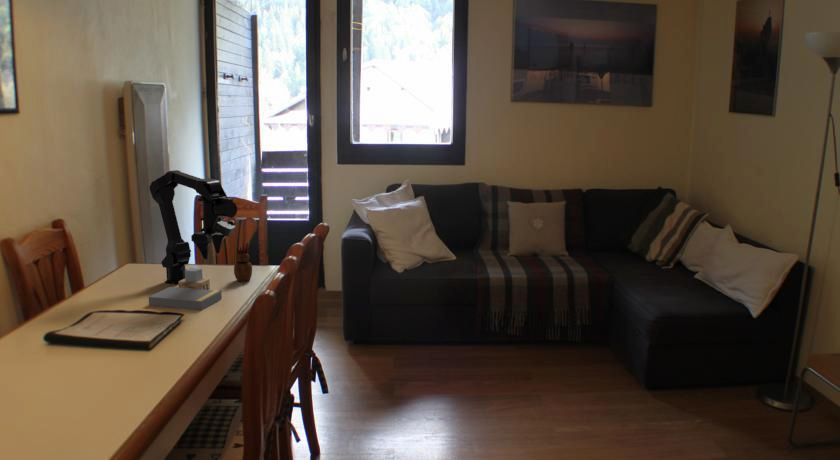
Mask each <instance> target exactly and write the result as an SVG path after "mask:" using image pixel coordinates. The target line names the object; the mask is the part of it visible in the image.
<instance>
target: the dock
mask: <svg viewBox="0 0 840 460" xmlns="http://www.w3.org/2000/svg"><path fill="white" fill-rule="evenodd" d="M221 300H222V290H220V289H214V290H213V289H209V290H203V289H191V288H179V286H169V287H166V288H164V289H163V290H160V291H159V292H155V293H154V294H152V295H150V296H148V305H149V306H151V307H152V306H153V307H162V308H163V307H164V308H175V309H187V310H198V311H199V310H200V311H204V310H205V309H207V308H208V307H211V306H212V305H214V304H216V303H218V302H220V301H221Z"/></svg>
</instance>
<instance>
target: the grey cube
mask: <svg viewBox="0 0 840 460" xmlns="http://www.w3.org/2000/svg"><path fill="white" fill-rule="evenodd" d="M202 279H204V277H203V268H201V267H200V268H199V267H190V268H188V269H186V270H185V281H188V282H198V281H200V280H202Z"/></svg>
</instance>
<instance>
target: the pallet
mask: <svg viewBox="0 0 840 460" xmlns="http://www.w3.org/2000/svg"><path fill="white" fill-rule="evenodd" d="M178 282H179V284H178V287H179V288H191V289H203V290H211V286H210V285H211V284H210V278H203V279H202V280H200V281H198V282H188V281H185V279H183V280H180V281H178Z"/></svg>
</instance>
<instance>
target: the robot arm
mask: <svg viewBox="0 0 840 460" xmlns="http://www.w3.org/2000/svg"><path fill="white" fill-rule="evenodd" d="M179 185H181V186H184V187H186V188H189V189H193V190H194V191H195V193H197V194H198V195H200V197H198V199H197V201H198V202H202V205H201V206H202V217H200V221H202V227H201V228H200V231H197V232H195V233H192V235H191V237H190V239H191V240H190V241H191V242H193V244H195V245H196V247H197V249H198V250H199V252H200V254H201V255H202V257H203V259H204V260H208V257H209V249H210V248H209V245H211V244H213V246H214V250H215V253H216V254H220V252H221V249H222V245H223V241H224V239H225V238H226V237H230V236H233V234H234V231H236V229H237V228H236V226H237V225H236V221H234V220H229V221H224V220H223V217H224V218H231V219H233V218H234V217H235V216H236V215H237V213H238V206H237V204H236V203H235V202H234V199H233V198H229V197H228V196H227V194H226V192H225V189H224V188H223V186H222V184H221V182H220V180H218V179H213V178H201V177H197V176H194V175H191V174H188V173H185V172H182V171H181V170H177V169H176V170H168V171H167V172H166V173H164V175H162V176H159V177H158V178H156V179H155V180H153V181H151V183H150V185H149V192H150V194H151V197H152V199H153V201H155V203H157V204H158V206H159V210H160V215H161V218H162V223H163V226H164V227H163V228H164V230H165V231H164V232H165V234H166V239H167V245H166V247H165V254H166V255H165V257H164V258H163V259H162V260H161V262H160V263H161V266H162V268H166V269H165V270H166V280H164V283H167V284H177V285H179V282H178V281H180V280H183V279H185V270H187V269H186V266H187V265H189V264H190V263H189V261H190V258H191V257H192V255H191V254H192V253H191V252H192V251H191V247H190V243H189V241H185V240H184V239H183V238H182V234H181V231H180V227H179V223H178V219H177V215H176V211H175V207H174V203H173V201H174V197H175V195H176V194H175V193H176V191H175V189H176V188H177V187H178V186H179Z"/></svg>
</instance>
